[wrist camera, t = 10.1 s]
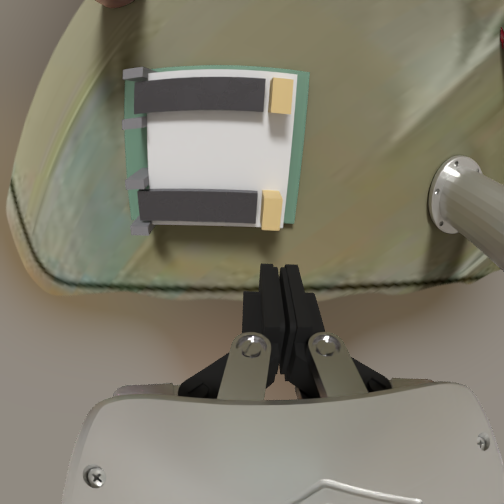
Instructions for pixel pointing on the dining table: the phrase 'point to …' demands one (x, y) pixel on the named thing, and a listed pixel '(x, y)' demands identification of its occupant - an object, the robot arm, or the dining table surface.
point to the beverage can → (114, 3)
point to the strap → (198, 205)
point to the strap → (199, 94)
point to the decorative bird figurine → (502, 37)
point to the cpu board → (219, 144)
